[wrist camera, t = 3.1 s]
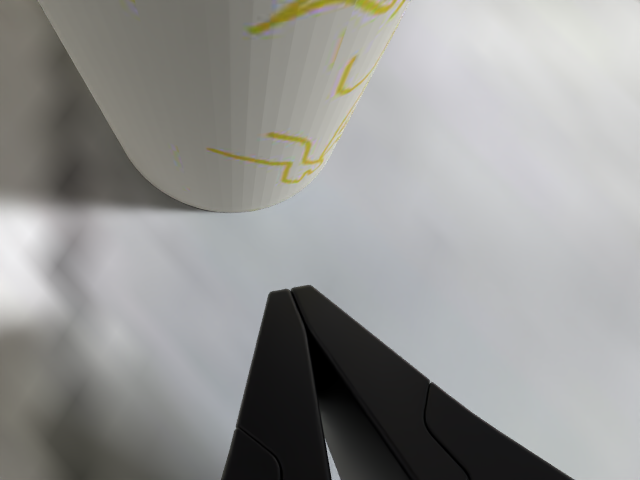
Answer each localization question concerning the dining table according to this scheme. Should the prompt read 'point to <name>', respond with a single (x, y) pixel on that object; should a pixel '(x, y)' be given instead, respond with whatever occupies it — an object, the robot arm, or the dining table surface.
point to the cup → (226, 87)
